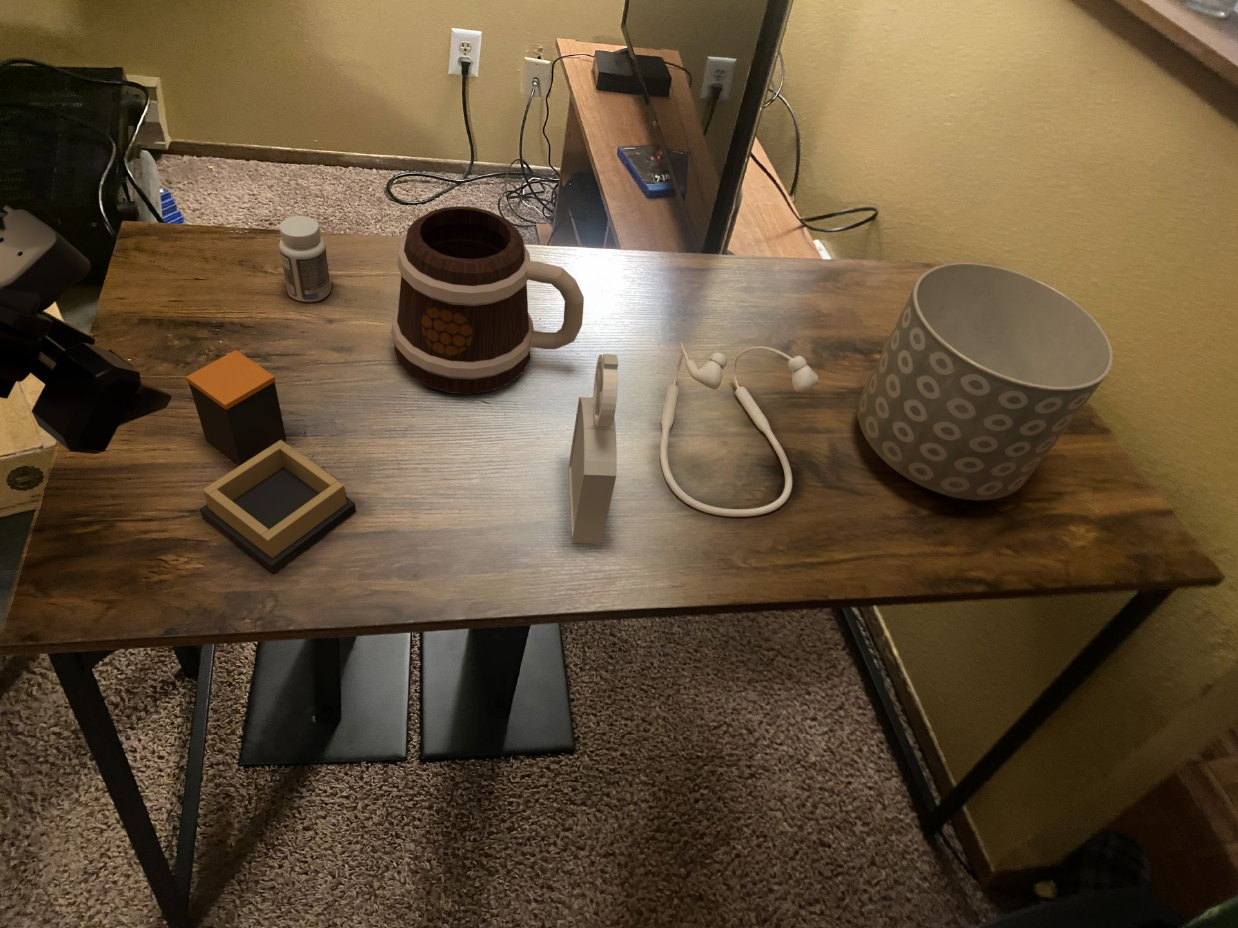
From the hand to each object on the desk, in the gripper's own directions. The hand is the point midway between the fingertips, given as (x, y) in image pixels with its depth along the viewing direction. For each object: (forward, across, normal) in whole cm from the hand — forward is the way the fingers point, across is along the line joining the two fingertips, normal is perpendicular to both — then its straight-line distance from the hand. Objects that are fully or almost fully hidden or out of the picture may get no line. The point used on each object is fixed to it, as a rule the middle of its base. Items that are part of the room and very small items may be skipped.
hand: (129, 372), depth 64 cm
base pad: (+12, -9, +7) cm, 17 cm away
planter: (+49, -53, -29) cm, 77 cm away
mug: (+33, -8, -13) cm, 36 cm away
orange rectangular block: (+15, 0, +4) cm, 16 cm away
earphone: (+37, -34, -18) cm, 54 cm away
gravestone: (+26, -28, -7) cm, 39 cm away
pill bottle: (+29, +14, -10) cm, 33 cm away
